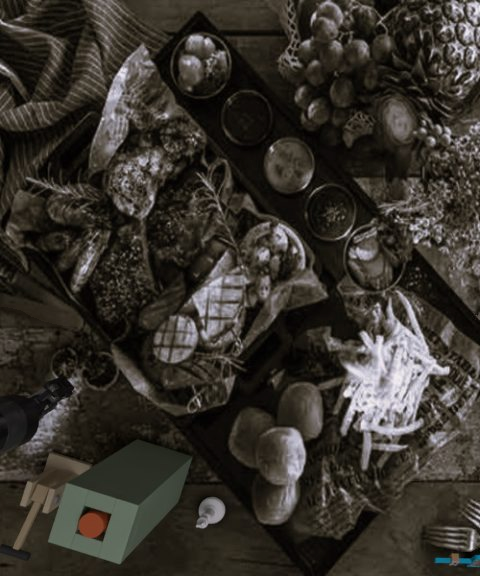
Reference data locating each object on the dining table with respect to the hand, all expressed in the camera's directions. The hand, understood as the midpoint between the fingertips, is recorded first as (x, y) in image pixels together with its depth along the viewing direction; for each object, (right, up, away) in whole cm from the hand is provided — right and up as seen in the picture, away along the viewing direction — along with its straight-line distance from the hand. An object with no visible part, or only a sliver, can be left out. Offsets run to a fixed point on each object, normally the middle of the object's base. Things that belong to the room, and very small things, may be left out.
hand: (47, 408), depth 121 cm
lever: (-8, -22, +12) cm, 26 cm away
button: (+11, -15, -8) cm, 20 cm away
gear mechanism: (+73, -27, +16) cm, 80 cm away
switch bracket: (-7, -17, +23) cm, 29 cm away
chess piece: (+21, -23, +23) cm, 39 cm away
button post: (+11, -15, +23) cm, 30 cm away
